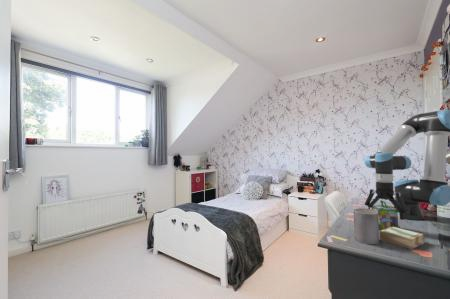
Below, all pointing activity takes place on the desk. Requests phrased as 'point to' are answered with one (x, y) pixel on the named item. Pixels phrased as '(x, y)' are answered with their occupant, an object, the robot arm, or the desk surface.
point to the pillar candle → (366, 226)
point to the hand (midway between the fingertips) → (385, 222)
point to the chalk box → (386, 216)
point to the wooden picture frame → (402, 237)
